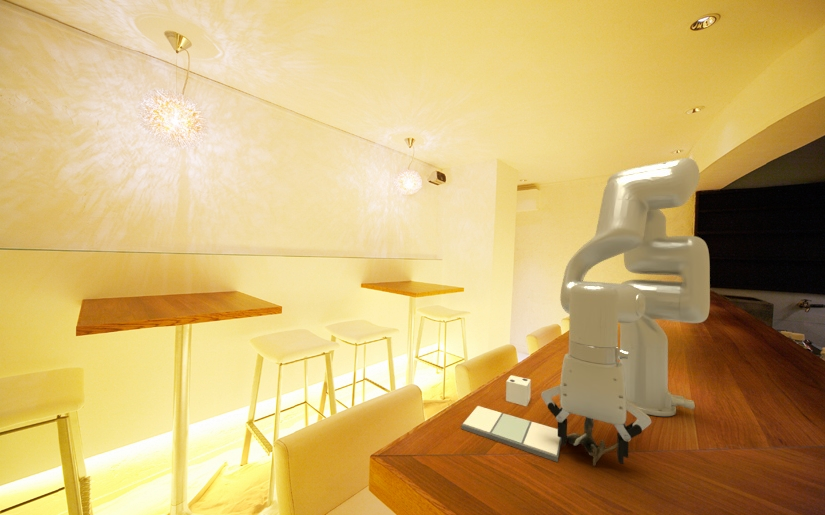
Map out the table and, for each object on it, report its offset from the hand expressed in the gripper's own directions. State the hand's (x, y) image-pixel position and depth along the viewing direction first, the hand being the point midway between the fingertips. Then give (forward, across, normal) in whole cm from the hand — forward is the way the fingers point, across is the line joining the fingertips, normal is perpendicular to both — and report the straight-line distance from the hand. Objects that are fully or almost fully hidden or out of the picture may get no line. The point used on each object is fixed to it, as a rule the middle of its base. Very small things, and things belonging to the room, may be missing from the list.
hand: (590, 449), depth 52 cm
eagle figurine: (+2, +1, -2) cm, 2 cm away
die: (+1, +16, -16) cm, 23 cm away
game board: (+1, +14, 0) cm, 14 cm away
